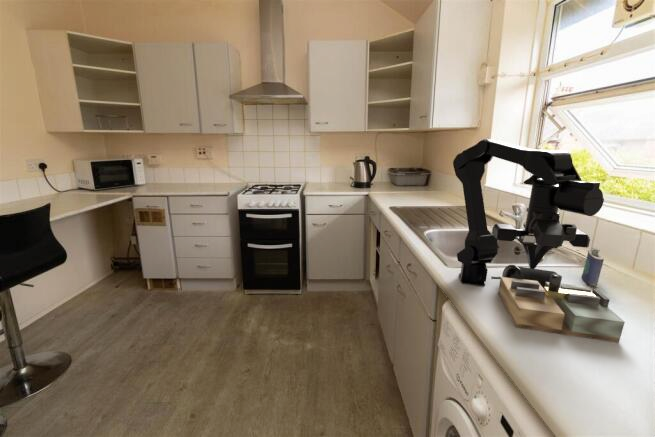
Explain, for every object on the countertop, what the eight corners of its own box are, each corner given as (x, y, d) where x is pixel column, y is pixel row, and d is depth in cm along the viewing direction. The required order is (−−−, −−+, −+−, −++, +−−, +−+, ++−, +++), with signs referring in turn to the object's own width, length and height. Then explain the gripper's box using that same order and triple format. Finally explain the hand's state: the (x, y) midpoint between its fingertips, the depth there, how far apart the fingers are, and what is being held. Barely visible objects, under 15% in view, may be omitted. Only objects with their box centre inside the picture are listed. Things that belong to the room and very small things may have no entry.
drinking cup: (545, 262, 95) (486, 260, 92) (567, 272, 88) (504, 270, 84) (539, 285, 97) (480, 284, 93) (560, 297, 89) (498, 296, 86)
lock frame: (515, 327, 73) (520, 300, 71) (498, 293, 89) (501, 270, 87) (619, 342, 68) (627, 313, 66) (580, 303, 84) (586, 279, 82)
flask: (598, 288, 92) (606, 254, 89) (585, 285, 93) (593, 252, 91) (590, 276, 100) (598, 244, 97) (579, 274, 101) (586, 243, 99)
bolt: (547, 297, 76) (551, 276, 75) (543, 292, 79) (547, 272, 77) (595, 303, 74) (600, 282, 72) (590, 298, 76) (595, 277, 75)
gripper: (508, 210, 68) (497, 277, 72) (611, 217, 63) (594, 288, 67) (496, 201, 78) (487, 259, 82) (583, 205, 73) (570, 267, 77)
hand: (531, 268), depth 77 cm, fingers closed
